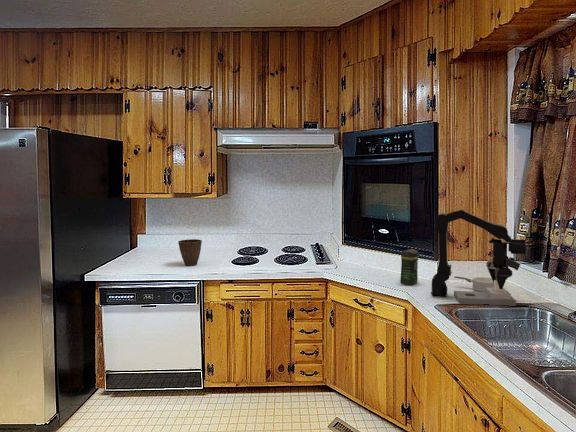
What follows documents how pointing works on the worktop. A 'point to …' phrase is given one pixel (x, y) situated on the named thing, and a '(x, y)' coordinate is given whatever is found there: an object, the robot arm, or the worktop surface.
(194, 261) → the plant pot
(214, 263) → the worktop surface
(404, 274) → the coffee jar
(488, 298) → the jack panel
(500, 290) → the plug
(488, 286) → the saucepan
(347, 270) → the worktop surface
